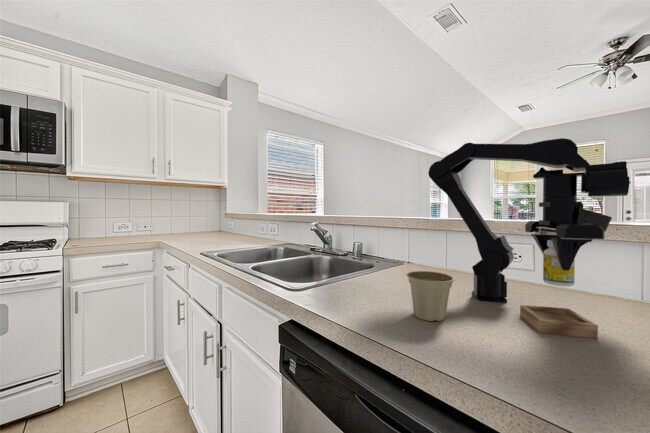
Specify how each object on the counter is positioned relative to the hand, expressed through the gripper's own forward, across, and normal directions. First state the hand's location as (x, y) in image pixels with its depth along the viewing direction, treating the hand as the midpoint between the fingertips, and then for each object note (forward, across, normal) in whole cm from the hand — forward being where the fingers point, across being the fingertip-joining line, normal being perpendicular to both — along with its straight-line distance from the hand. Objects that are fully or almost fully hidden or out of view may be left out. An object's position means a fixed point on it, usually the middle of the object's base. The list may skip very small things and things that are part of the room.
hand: (558, 267), depth 61 cm
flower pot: (+10, -11, +28) cm, 32 cm away
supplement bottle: (+4, 0, 0) cm, 4 cm away
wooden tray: (+10, -10, +5) cm, 15 cm away
